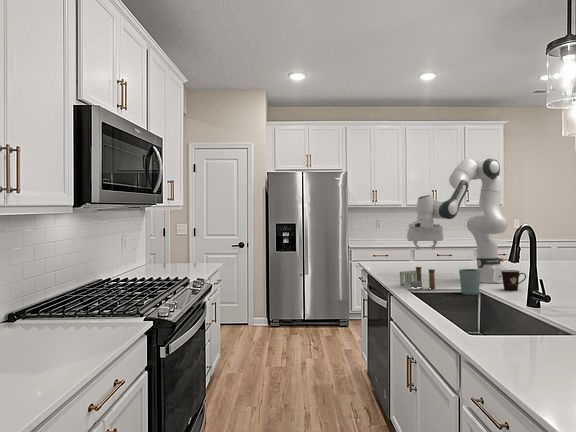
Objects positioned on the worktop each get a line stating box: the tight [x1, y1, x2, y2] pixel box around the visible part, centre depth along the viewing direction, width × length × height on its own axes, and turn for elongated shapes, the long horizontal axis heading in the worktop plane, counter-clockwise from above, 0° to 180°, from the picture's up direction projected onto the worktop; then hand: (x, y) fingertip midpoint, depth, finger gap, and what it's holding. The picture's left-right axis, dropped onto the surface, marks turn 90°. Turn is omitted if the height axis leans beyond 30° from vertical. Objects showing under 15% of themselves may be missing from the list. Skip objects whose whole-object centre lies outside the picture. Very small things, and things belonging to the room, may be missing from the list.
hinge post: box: [415, 266, 423, 283], centre depth 276 cm, size 3×3×11 cm
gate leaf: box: [399, 270, 417, 287], centre depth 273 cm, size 2×10×8 cm, turn 113°
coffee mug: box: [501, 269, 527, 292], centre depth 251 cm, size 12×9×10 cm
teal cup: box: [458, 268, 481, 296], centre depth 246 cm, size 10×10×12 cm
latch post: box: [428, 268, 436, 290], centre depth 263 cm, size 4×5×11 cm
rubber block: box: [410, 281, 423, 288], centre depth 267 cm, size 4×4×4 cm
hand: (425, 249), depth 268 cm, fingers open, 8 cm apart
